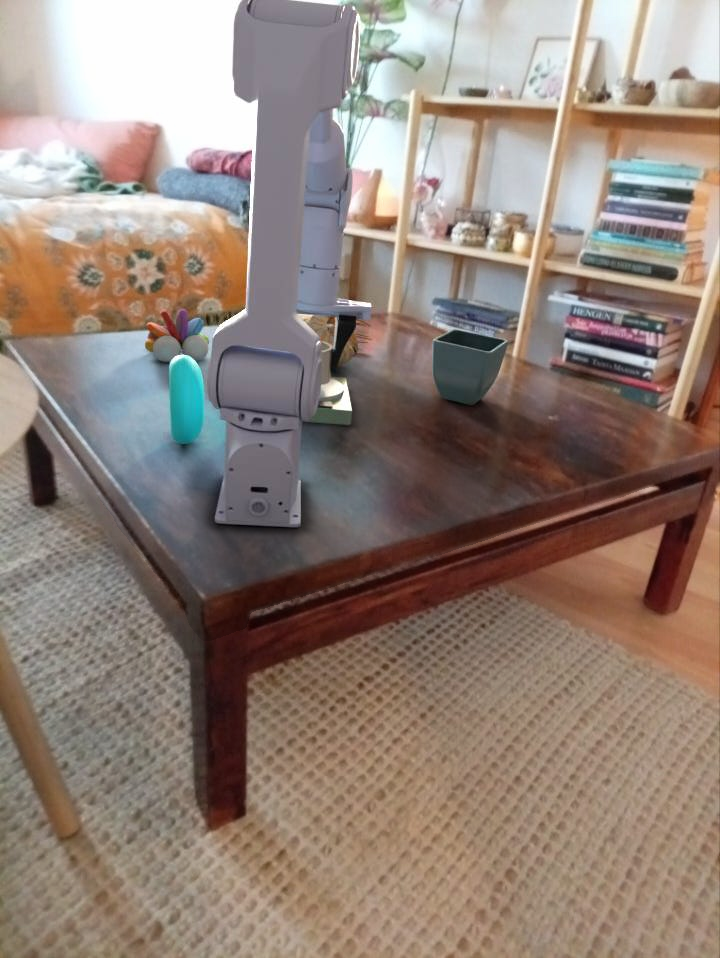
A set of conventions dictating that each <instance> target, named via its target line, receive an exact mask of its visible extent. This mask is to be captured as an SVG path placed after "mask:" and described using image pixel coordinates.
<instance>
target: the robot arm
mask: <svg viewBox="0 0 720 958" xmlns="http://www.w3.org/2000/svg"><path fill="white" fill-rule="evenodd" d="M233 20H234V21H233V34H232V64H231V65H232V66H231V79H232V80H231V81H232V83H233V94H234V96H235V97H236V98H239V99H240V100H242V101H244V102H246V103H247V104H249V105H250V108H251V118H252V119H251V120H252V127H253V130H252V131H253V137H252V156H251V157H252V158H251V160H252V161H251V181H250V201H249V203H250V204H249V207H250V208H249V225H248V243H247V244H248V245H247V246H248V247H247V267H246V269H247V270H246V286H245V287H246V289H245V309H243V310H242V311H240V312H239V313H237V314H236V315H234V316H232V317H230V318H229V319H228V320H225V321H224V322H223V323H222V324H220V325H219V327H217V329H216V331H215V332H214V335H213V336H212V338H211V339H212V343H211V352H210V358H209V362H208V366H207V374H206V394H207V398H208V400H209V402H210V403H211V405H212V406H213V408H214V409H217V410H219V411H220V416H219V417H220V418H219V419H220V420H221V421H225V435H224V436H225V437H224V439H225V443H224V447H225V448H224V475H223V479H222V481H221V482H222V483H221V487H220V493H219V496H218V501H217V506H216V510H215V515H214V522H215V523H216V524H220V525H237V526H238V525H239V526H240V525H242V526H261V527H276V528H277V527H278V528H279V527H280V528H300V527H301V525H302V523H301V521H302V520H301V519H302V516H301V515H302V512H301V510H302V508H301V505H302V504H301V503H302V500H301V499H302V497H301V495H302V493H301V492H302V489H301V485H302V481H301V479H299V469H300V456H301V441H302V428H303V420H304V421H309V420H310V418H312V417H313V416H314V415H315V414H316V411H317V407H318V402H319V397H320V390H321V381H322V361H321V353H322V344H321V342H320V338H319V336H318V335H317V334H316V333H315V332H314V331H313V330H312V329H311V328H310V327H309V326H308V325H307V324H306V323H305V322H304V321H303V320H302V319H301V318H300V317H299V316H298V314H307V315H319V316H331V317H336V318H335V333H334V345H333V356H332V364H331V374H332V373H333V374H336V373H337V370H338V367H339V366H338V362H339V360H340V357H341V354H342V352H343V350H344V348H345V346H346V344H347V342H348V340H349V338H350V337H351V335H352V334H353V332H355V330H356V328H357V325H356V323H357V320H356V319H358V320H361V321H363V322H371V318H372V317H371V316H372V307H373V306H372V304H371V303H370V302H364V301H356V300H349V299H344V298H339V288H340V277H341V276H340V275H341V265H342V254H343V243H344V231H345V229H346V228H347V221H348V213H349V208H350V205H351V200H352V194H353V181H354V180H353V179H354V177H353V175H354V174H353V169H352V168H350V169H349V168H347V161H346V160H347V159H346V145H345V143H346V142H345V134H344V130H343V128H342V126H341V125H340V123H338V121H337V120H335V119H334V118H333V117H334V116H333V115H334V110H335V109H337V108H340V107H341V106H342V104H343V102H344V100H345V99H346V98H347V96H348V94H349V92H350V91H351V88H352V87H353V85H354V83H355V80H356V75H357V70H358V62H359V50H360V33H361V32H360V31H361V30H360V29H361V26H360V25H361V21H360V15H359V13H358V11H357V10H356V8H355V6H354V4H345V5H339V4H330V3H321V2H312V1H304V0H303V1H302V0H241V1H240V2H239V4H238V5H237V8H236V12H235V14H234V19H233ZM337 366H338V367H337Z"/></svg>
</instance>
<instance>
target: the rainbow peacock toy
mask: <svg viewBox="0 0 720 958" xmlns="http://www.w3.org/2000/svg"><path fill="white" fill-rule="evenodd" d="M160 315H161V318H162V320H163V322H164V324H165V326H164V325H159V324H157V323H155V322H152V321H150V322H148V323H146V326H145V327H146V330H147V331H148V333H147V339H146V341H145V342H144V347H145V349H146V350H147V351H148V352H151V353H153V355H154V356H155V358H156V359H157V360H159V361H161V362H163V363H170V362H171V361H172V359H173V358H174V357H176V356H178V355H181V351H182V355H187V356H189V357H191V358H192V359H194V360H195V361H196V362H199V361H202V360H203V359H205V358H206V357H207V355H208V353H209V350H210V349H209V345H210V339H209V337H208V335H205V334H201V332H202V330H203V328H204V326H205V323H204V320H203V319H202V318H201V317H196V318H193V319H191V320H190V321H189V314H188V311H187V310H186V309H184V308H181V309H179V310H178V311H177V313H176V317H175V321H173V319H172V318H171V315H170V314H169V312H168V311H167V310H162V311H161V312H160Z"/></svg>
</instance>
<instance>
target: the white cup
mask: <svg viewBox="0 0 720 958" xmlns="http://www.w3.org/2000/svg"><path fill="white" fill-rule="evenodd" d="M320 342H321V344H322V353H321V361H322V381H321V385H323V384H327V383H328V382H329V381H330V377H332V372H331V364H332V356H333V346H332V345H331V344H329V343H326V342H324V341H320Z"/></svg>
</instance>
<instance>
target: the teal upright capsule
mask: <svg viewBox="0 0 720 958" xmlns="http://www.w3.org/2000/svg"><path fill="white" fill-rule="evenodd" d="M168 378H169V379H168V383H169V385H168V389H169V390H168V391H169V396H168V397H169V421H170V423H169V424H170V434H171V437H172V438H173V440H174V441H175V442H177V443H178V444H181V445H187V444H191V443H193V442H194V441H195V440H197V439H198V437H199V436H200V434H201V432H202V431H203V428H204V427H203V426H204V420H205V389H204V388H205V386H204V377H203V373H202V370H201V367H200V366H199V364H198V363H197V361H195V360H194V359H192V358H191V357H189V356H187V355H184V354H179V355H178V356H176V357H174V358H173V359H172V361H171V362H169V366H168Z"/></svg>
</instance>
